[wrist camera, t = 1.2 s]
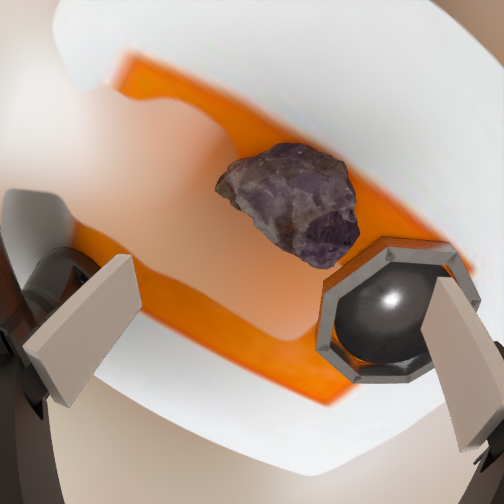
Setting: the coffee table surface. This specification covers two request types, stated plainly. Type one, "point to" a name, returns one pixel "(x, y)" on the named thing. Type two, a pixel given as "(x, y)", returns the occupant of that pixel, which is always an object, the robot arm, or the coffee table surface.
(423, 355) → the collar
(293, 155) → the rock
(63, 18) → the coffee table surface
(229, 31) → the coffee table surface
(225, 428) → the coffee table surface
